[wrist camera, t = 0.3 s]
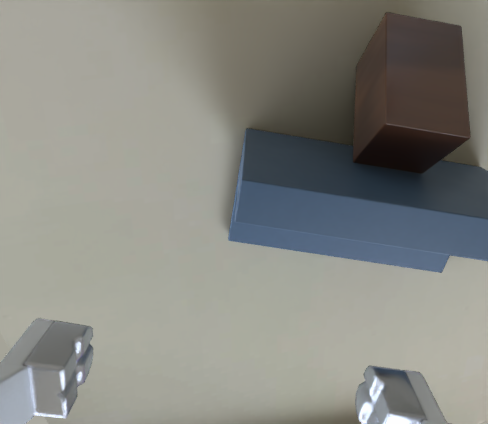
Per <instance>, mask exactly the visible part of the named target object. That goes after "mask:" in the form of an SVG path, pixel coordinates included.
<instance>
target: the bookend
mask: <svg viewBox="0 0 488 424" xmlns="http://www.w3.org/2000/svg"><path fill="white" fill-rule="evenodd" d="M228 240H229V241H235V242H242V243H248V244H255V245H262V246H268V247H275V248H281V249H288V250H295V251H301V252H308V253H314V254H321V255H328V256H334V257H341V258H348V259H354V260H361V261H367V262H374V263H381V264H387V265H394V266H400V267H407V268H414V269H420V270H427V271H433V272H440V273H442V271H443V269H444V267H445V264H446V262H447V260H448V258H449V256H450V255H451V256H458V257H464V258H471V259H477V260H484V261H488V171H487V170H485V169H483V168H481V167H478V166H472V165H466V164H460V163H454V162H448V161H442V160H440V161H439V162H438V163H436V164H435V165H434V166H432V167H431V168H430V169H428V170H427V171H426V172H424V173H423V174H420V173H414V172H408V171H401V170H395V169H389V168H383V167H377V166H371V165H365V164H359V163H353V146H351V145H345V144H339V143H333V142H327V141H321V140H315V139H309V138H303V137H297V136H291V135H284V134H278V133H272V132H266V131H260V130H254V129H248V128H246V131H245V137H244V144H243V150H242V156H241V162H240V168H239V175H238V181H237V187H236V193H235V199H234V206H233V212H232V218H231V224H230V230H229V237H228Z"/></svg>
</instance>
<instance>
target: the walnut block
mask: <svg viewBox="0 0 488 424" xmlns="http://www.w3.org/2000/svg"><path fill="white" fill-rule="evenodd" d="M469 138H470V126H469V113H468V101H467V89H466V76H465V64H464V52H463V39H462V27H461V26H459V25H454V24H448V23H443V22H437V21H432V20H426V19H421V18H415V17H410V16H404V15H399V14H394V13H388V12H386V13H385V15H384V17H383V19H382V21H381V23H380V24H379V26H378V28H377V30H376V32H375V33H374V35H373V37H372V39H371V41H370V43H369V44H368V46H367V48H366V50H365V52H364V53H363V55H362V57H361V59H360V61H359V62H358V64H357V66H356V91H355V117H354V143H353V163H359V164H365V165H371V166H377V167H383V168H389V169H395V170H401V171H408V172H414V173H420V174H423V173H424V172H426V171H427V170H428V169H430V168H431V167H432V166H434V165H435V164H436V163H438V162H439V161H440V160H442V159H443V158H444V157H445V156H447V155H448V154H449V153H451V152H452V151H453V150H455V149H456V148H457V147H459V146H460V145H461V144H463V143H464V142H465V141H467V140H468V139H469Z"/></svg>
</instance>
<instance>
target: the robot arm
mask: <svg viewBox="0 0 488 424" xmlns="http://www.w3.org/2000/svg"><path fill="white" fill-rule="evenodd" d="M92 337H93V328H92V327H91V326H86V325H80V324H74V323H68V322H62V321H54V320H48V319H42V318H38V319H36V320H35V321H33V322H32V323H31V325H30V326H29V327H28V328H27V330H26V331H25V332H24V334H23V335H22V336H21V337H20V339H19V340H18V341H17V342H16V344H15V345H14V346H13V347H12V349H11V350H10V351H9V353H8V354H7V355H6V356H5V357H4V359H3V360H2V361H1V362H0V424H25V423H27V422H28V421H29V420H30V419H32V418H33V417H34V415H40V416H50V417H60V418H67V416H68V414H69V412H70V410H71V408H72V406H73V404H74V402H75V400H76V398H77V387H78V386H79V385H81V384H82V383H84V382H85V380H86V378H87V376H88V374H89V371H90V368H91V364H92V360H93V347H92V346H91V345H90V341H91V339H92ZM363 375H364V378H365V381H364V382H363V383H361V384H360V385H359V386H358V389H357V392H356V399H355V405H356V412H357V416H358V419H359V420H360V422H361V423H362V424H450V423H447V422H446V420H445V418H444V416H443V414H442V412H441V410H440V408H439V406H438V404H437V402H436V400H435V398H434V396H433V394H432V392H431V390H430V388H429V386H428V384H427V382H426V380H425V379H424V377H423V375H422V374H421V373H420V372H415V371H408V370H400V369H392V368H385V367H377V366H368V367H367V368H366V370H365V372H364V374H363Z"/></svg>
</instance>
